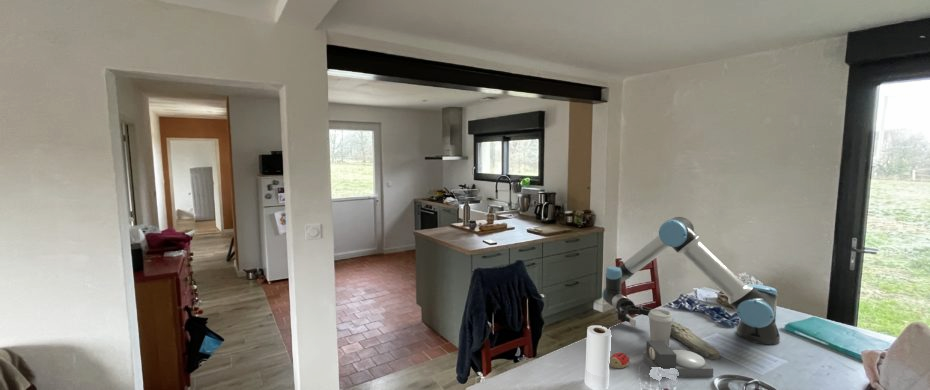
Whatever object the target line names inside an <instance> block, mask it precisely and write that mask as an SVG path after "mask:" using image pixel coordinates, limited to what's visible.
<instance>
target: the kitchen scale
mask: <svg viewBox="0 0 930 390" xmlns="http://www.w3.org/2000/svg"><path fill="white" fill-rule="evenodd" d="M645 347H646V350H645V351H642V360H643V361H644V362H645V363H646V365H647V366H648V367H649V368H650V367H661V368H663V369H670V368H675V369H677V370H678V372H679V376H678V377H704V378H705V377H706V378H707V377H709V378H711V377H714V368H713V367H712V365H710V364H709V363H708V362H707V361H706V360H705V359H704V357H703V356H702V355H701V354H699V353H697V352H695V351H689V350H685V349H672V348H671V347H670V346H669V347H668V346H667V345H666V344H665V343H664V342H663V341H662V340H651V339H650V340H649V339H648V340H647V339H646V345H645Z"/></svg>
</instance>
